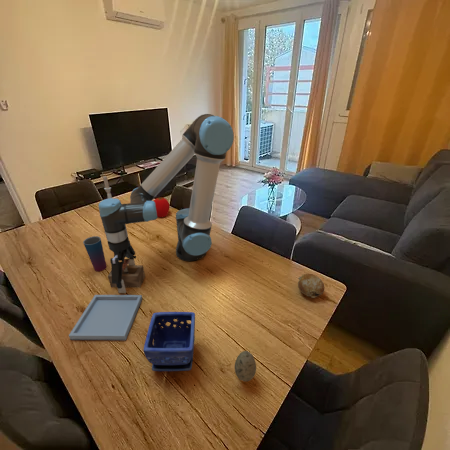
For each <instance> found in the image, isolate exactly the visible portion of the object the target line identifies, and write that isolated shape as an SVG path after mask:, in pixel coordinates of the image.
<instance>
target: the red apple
mask: <svg viewBox="0 0 450 450" xmlns="http://www.w3.org/2000/svg"><path fill="white" fill-rule="evenodd" d="M153 201H154V202H155V205H156V212H157V218H166V217H167V216H168V215H169V211H170V208H171V207H170V202H169V201H168V199H167V198H166V197H157V198H156V197H155V198H154V199H153Z"/></svg>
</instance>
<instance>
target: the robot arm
mask: <svg viewBox="0 0 450 450" xmlns="http://www.w3.org/2000/svg"><path fill="white" fill-rule="evenodd" d="M234 133H235V132H234V130H233V127H232V125H231V123H229V122H228V121H227V120H226V119H224V118H223V117H221V116H219V115H214V114H210V113H205V114H201V115H199V116H198V117H197V118H196V119H194V120H193V122H192V123H191V124H190V125H189V127H188V128H186V130H185V131H184V132H183V133H182V134H181V138H182V139H181V140H180V141H179V142H178V143H177V144H176V145H175V146H174V148H172V150H170V152H169V153H168V154H167V155H166V156H165V157H164V159H162V160H161V162H159V164H157V166H156V167H155V169H154V170H153V171H152V172H151V173H150V174H149V175H148V176H147V177H146V178H145V179H144V180H143V181H142V183H141V184H140V185H139V186H138V187H136V188H134V189H133V190H132V191H131V193H130V198H129V199H130V202H129V203H121V200H120V199H119V198H114V197H112V198H109V199H108V198H105V199H103V200H100V202H99V203H98V210H99V211H98V212H99V217H100V219H101V223H102V226H103V229H104V231H103V232H104V234H105V237H106V241H107V245H108V249H109V250H110V251H111V252H113V257H111V258H110V265H111V266H110V267H111V269H110V272H111V274H112V284H116V285H117V287H116V288H117V291H118V294H126V293H127V289H126V287H125V285H124V281H123V279H122V268H123V264H124V259H129V263H128V265H136V261H135V260H136V258H137V256H136V251H135V250H134V248H133V246H132V245H131V241H130V238H129V233H128V230H127V226H126V225H130V224H138V223H146V222H150V221H156V220H158V219H157V218H158V217H157V212H156V205H155V202H154V200H155V199H156V197H157V195H159V194H160V192H161V191H162V190H163V189H164V188H166V186H167V185H168V184H169V183H170V182H171V180H172V179H174V178H175V176H176V175H177V174H178V173H179V172H180V171H181V170H182V169H183V167H184V166H185V165H187V164H188V162H189V161H190V160H191V159H192V158H193V157H194V156H195V157H196V158H197V159H196V165H195V166H196V167H195V170H194V171H195V172H194V179H193V185H192V190H191V197H190V202H189V203H190V204H189V207H188V208H183V209H179V210H178V211H176V213H175V221H176V229H177V230H176V231H177V245H176V247H175V253H176V257H177V258H178V259H179V260H182V261H186V262H193V261H199V260H200V259H203V258H204V257H205V256H206V255H207V252H208V251H209V250H210V249H211V247H212V244H213V241H212V237H211V230H212V226H213V223H212V222H211V220H210V217H211V212H212V207H213V206H212V205H213V201H214V197H215V191H216V187H217V182H218V181H217V180H218V176H219V171H220V170H219V169H220V166H221V163H222V162H223V161H225V160H226V156H227V153H228V151H229V150H230V149H231V148H232V146H233V143H234V139H235V137H234Z"/></svg>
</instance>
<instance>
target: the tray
mask: <svg viewBox="0 0 450 450" xmlns="http://www.w3.org/2000/svg"><path fill="white" fill-rule="evenodd" d="M142 302H143V295H141V294H94V295H93V297H92V298H91V300H90V302H89V303H88V305H87V306H86V308H85V309H84V311H83V313H82V314H81V315H80V317H79V318H78V320H77V321H76V324H75V325H74V327H73V328H72V329H71V331H70V333H69V334H68V337H69V340H70V341H126V340H127V338H128V336H129V333H130V331H131V329H132V326H133V323H134V321H135V319H136V317H137V314H138V311H139V309H140V306H141V304H142Z"/></svg>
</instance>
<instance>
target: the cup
mask: <svg viewBox="0 0 450 450" xmlns="http://www.w3.org/2000/svg"><path fill="white" fill-rule="evenodd" d="M82 243H83V246H84V248H85V250H86V253H87V255H88V258H89V260H90V262H91V265H92V267H93V270H94V271H95V272H103V271H105V270H106V269H107V263H106V258H105V257H106V256H105V253H104V248H103V243H102V238H101V237H100V236H95V235H94V236H90V237H87V238H85V239H84V240H83V242H82Z"/></svg>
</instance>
